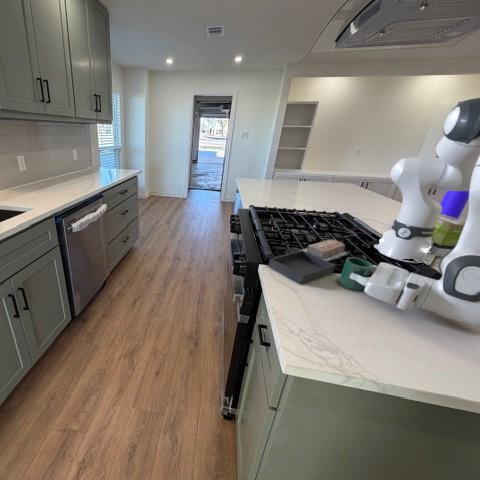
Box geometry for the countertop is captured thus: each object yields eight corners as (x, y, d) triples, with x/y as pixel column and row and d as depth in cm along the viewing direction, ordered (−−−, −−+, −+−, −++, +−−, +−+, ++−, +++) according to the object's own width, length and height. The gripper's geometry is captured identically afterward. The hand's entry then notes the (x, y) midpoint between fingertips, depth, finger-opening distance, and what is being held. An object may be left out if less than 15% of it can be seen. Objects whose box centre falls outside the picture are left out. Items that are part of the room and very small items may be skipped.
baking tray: (300, 256, 101) (302, 250, 100) (333, 272, 91) (335, 265, 90) (268, 265, 94) (269, 258, 92) (300, 284, 83) (302, 276, 82)
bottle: (441, 230, 136) (470, 173, 124) (454, 236, 129) (486, 176, 117) (423, 228, 138) (450, 172, 126) (434, 234, 130) (464, 175, 118)
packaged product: (327, 236, 110) (351, 244, 102) (323, 246, 112) (347, 255, 104) (301, 243, 102) (325, 253, 94) (298, 253, 104) (322, 264, 96)
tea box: (405, 241, 119) (419, 211, 113) (427, 243, 118) (443, 213, 112) (434, 256, 105) (453, 222, 99) (459, 258, 104) (480, 225, 99)
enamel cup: (345, 277, 88) (353, 255, 84) (367, 287, 82) (376, 264, 79) (334, 282, 85) (342, 259, 81) (355, 292, 79) (365, 269, 76)
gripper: (420, 267, 77) (365, 252, 87) (412, 293, 65) (349, 271, 74) (411, 285, 80) (359, 268, 89) (402, 312, 67) (342, 289, 76)
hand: (354, 269), depth 81 cm, fingers open, 8 cm apart
